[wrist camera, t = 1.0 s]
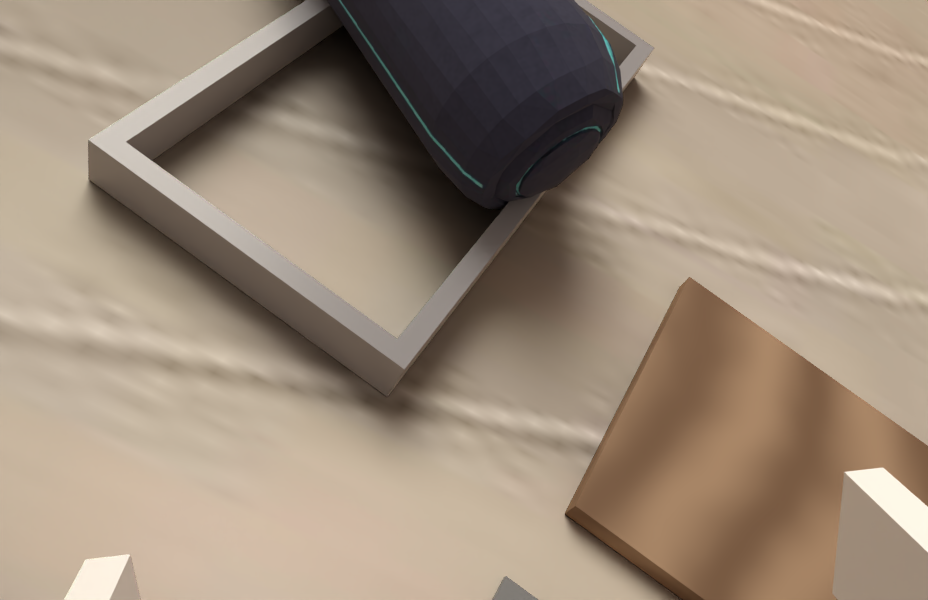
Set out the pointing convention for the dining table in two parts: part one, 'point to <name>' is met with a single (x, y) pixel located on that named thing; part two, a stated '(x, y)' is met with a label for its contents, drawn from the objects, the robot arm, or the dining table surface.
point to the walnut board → (734, 461)
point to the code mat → (511, 591)
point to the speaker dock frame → (246, 256)
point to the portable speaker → (493, 86)
